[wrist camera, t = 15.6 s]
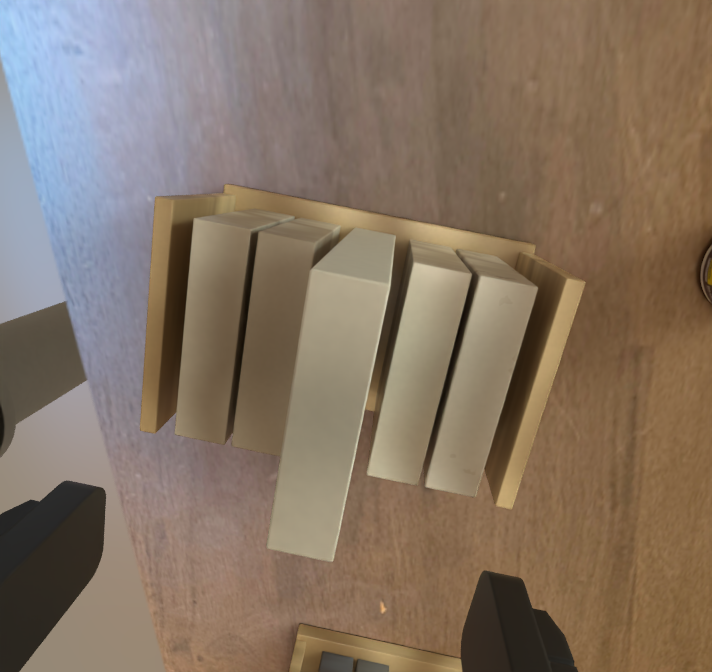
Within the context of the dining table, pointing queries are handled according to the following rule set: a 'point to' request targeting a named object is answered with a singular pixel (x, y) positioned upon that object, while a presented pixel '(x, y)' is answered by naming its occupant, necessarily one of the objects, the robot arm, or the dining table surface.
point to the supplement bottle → (707, 274)
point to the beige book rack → (396, 344)
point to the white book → (330, 392)
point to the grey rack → (361, 655)
